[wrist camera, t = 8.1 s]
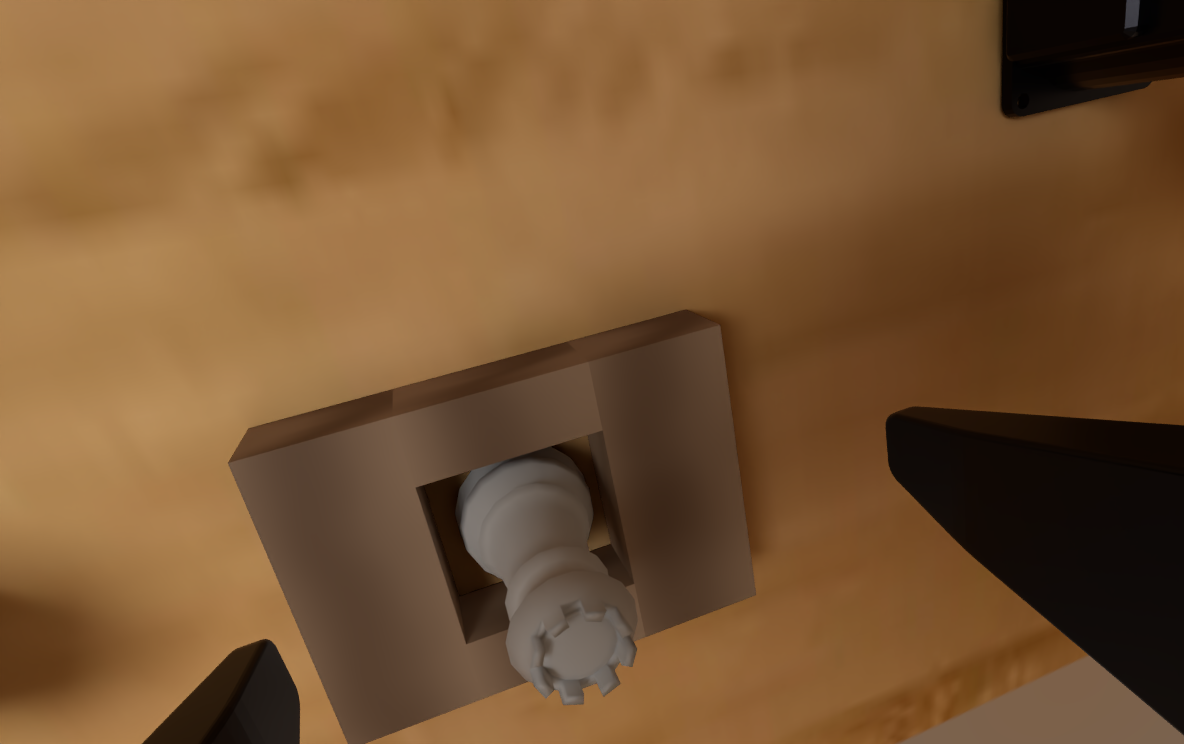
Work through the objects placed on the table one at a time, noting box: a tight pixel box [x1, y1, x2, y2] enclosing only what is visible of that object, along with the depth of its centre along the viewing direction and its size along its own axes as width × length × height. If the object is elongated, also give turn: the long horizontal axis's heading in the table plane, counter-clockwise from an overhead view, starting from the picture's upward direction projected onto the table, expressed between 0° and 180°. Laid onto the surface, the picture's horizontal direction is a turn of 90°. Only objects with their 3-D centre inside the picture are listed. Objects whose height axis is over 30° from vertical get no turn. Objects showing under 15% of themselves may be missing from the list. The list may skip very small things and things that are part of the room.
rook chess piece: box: [455, 447, 638, 705], centre depth 18 cm, size 4×4×8 cm
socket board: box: [228, 310, 756, 744], centre depth 21 cm, size 14×10×2 cm
